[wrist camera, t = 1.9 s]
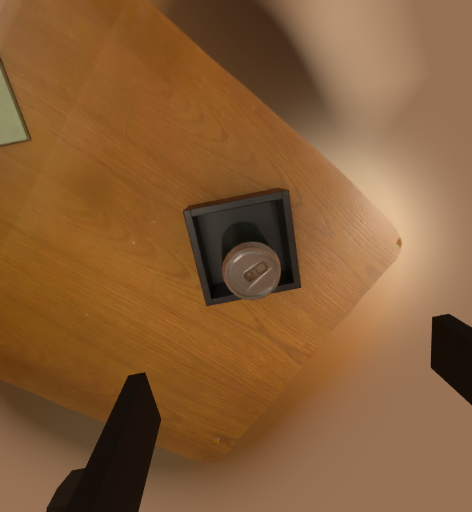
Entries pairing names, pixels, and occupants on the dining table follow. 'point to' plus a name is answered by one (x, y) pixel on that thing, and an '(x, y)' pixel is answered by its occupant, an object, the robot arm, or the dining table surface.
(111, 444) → the robot arm
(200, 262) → the bin
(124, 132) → the dining table surface
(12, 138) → the mat
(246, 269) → the beer can
